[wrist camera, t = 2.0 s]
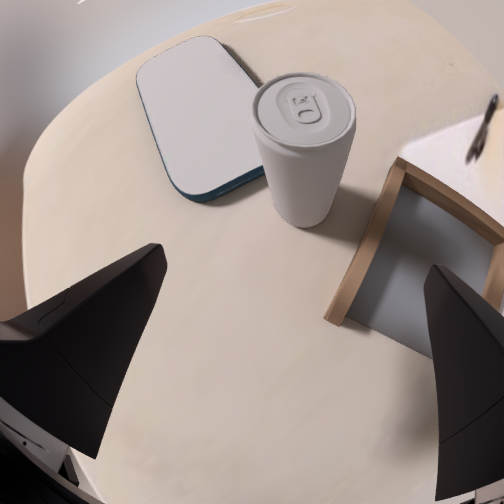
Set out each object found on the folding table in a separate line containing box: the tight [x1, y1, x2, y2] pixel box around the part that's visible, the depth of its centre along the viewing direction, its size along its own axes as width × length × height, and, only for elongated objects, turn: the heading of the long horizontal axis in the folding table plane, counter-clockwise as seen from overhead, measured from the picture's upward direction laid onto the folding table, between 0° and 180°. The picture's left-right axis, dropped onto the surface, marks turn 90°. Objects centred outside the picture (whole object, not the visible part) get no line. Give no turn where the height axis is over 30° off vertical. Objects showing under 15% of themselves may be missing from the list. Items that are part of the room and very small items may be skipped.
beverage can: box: [251, 72, 356, 228], centre depth 16 cm, size 5×5×12 cm
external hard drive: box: [136, 36, 265, 202], centre depth 25 cm, size 24×12×2 cm, turn 26°
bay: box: [323, 157, 504, 359], centre depth 18 cm, size 14×14×2 cm
